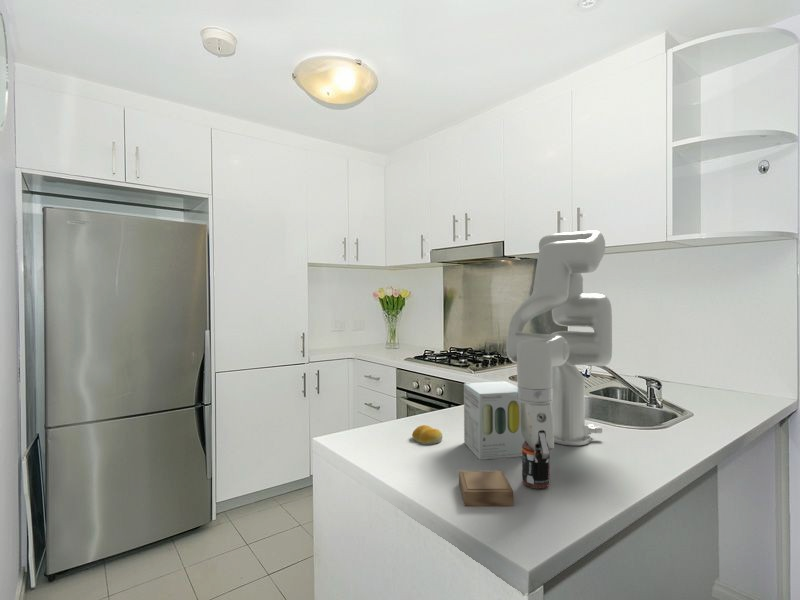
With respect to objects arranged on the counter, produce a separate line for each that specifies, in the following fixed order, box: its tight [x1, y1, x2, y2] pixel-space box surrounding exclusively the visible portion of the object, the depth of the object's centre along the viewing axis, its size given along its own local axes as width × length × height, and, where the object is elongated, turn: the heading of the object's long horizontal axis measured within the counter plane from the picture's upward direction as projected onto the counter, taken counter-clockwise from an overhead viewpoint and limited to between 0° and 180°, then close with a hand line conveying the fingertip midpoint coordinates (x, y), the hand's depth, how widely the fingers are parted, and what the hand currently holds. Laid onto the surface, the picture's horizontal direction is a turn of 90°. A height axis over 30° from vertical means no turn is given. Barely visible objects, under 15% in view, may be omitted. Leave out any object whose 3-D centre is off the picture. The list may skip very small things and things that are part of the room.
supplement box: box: [463, 380, 525, 461], centre depth 118 cm, size 13×13×18 cm
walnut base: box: [458, 470, 515, 507], centre depth 93 cm, size 10×10×3 cm
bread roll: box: [411, 424, 443, 445], centre depth 127 cm, size 8×9×4 cm
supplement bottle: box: [521, 441, 551, 489], centre depth 96 cm, size 6×6×11 cm
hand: (535, 471), depth 97 cm, fingers closed on supplement bottle, 6 cm apart
